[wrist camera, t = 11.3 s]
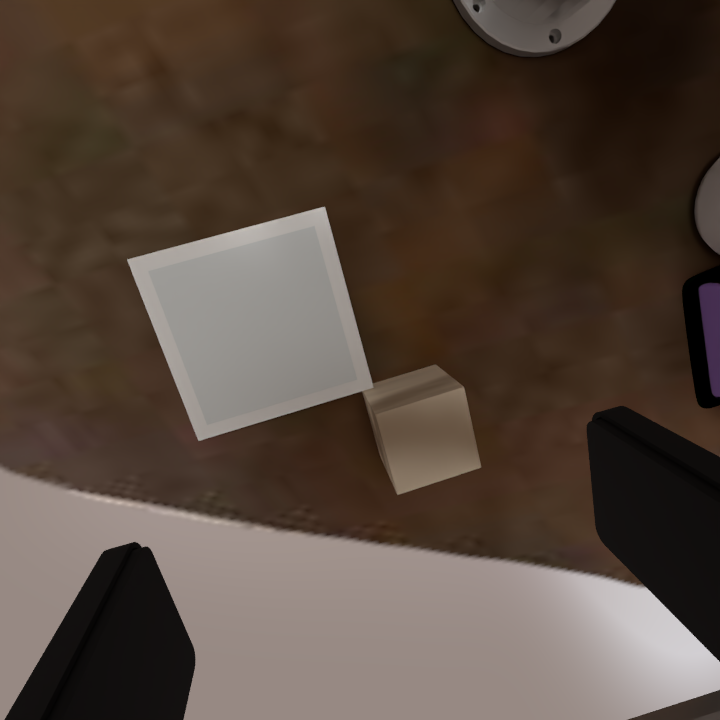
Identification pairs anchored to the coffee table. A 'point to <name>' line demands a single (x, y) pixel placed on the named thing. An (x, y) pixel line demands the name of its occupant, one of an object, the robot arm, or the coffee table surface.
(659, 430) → the robot arm
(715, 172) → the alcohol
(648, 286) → the coffee table surface
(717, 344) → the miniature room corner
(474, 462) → the maple cube
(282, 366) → the plate
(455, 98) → the coffee table surface
